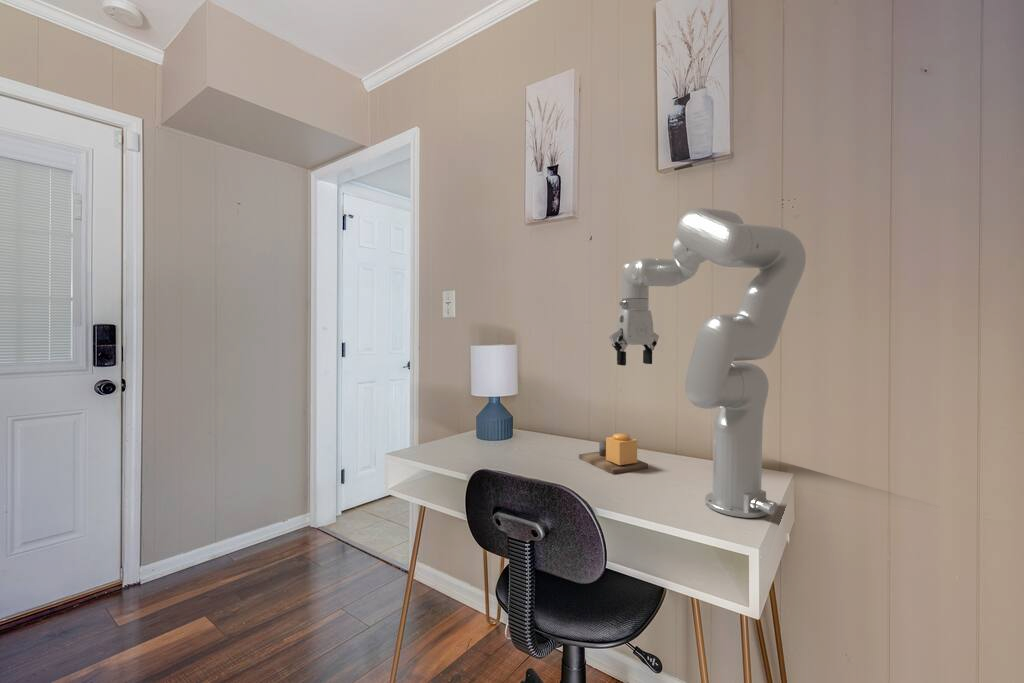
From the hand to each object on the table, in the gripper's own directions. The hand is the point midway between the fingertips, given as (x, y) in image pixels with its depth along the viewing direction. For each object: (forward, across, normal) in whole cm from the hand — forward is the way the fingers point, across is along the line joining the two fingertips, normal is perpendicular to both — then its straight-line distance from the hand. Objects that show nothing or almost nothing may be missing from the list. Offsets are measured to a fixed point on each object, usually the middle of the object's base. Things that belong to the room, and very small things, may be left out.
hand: (634, 364), depth 136 cm
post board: (+28, -8, 0) cm, 29 cm away
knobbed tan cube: (+26, -8, -4) cm, 28 cm away
